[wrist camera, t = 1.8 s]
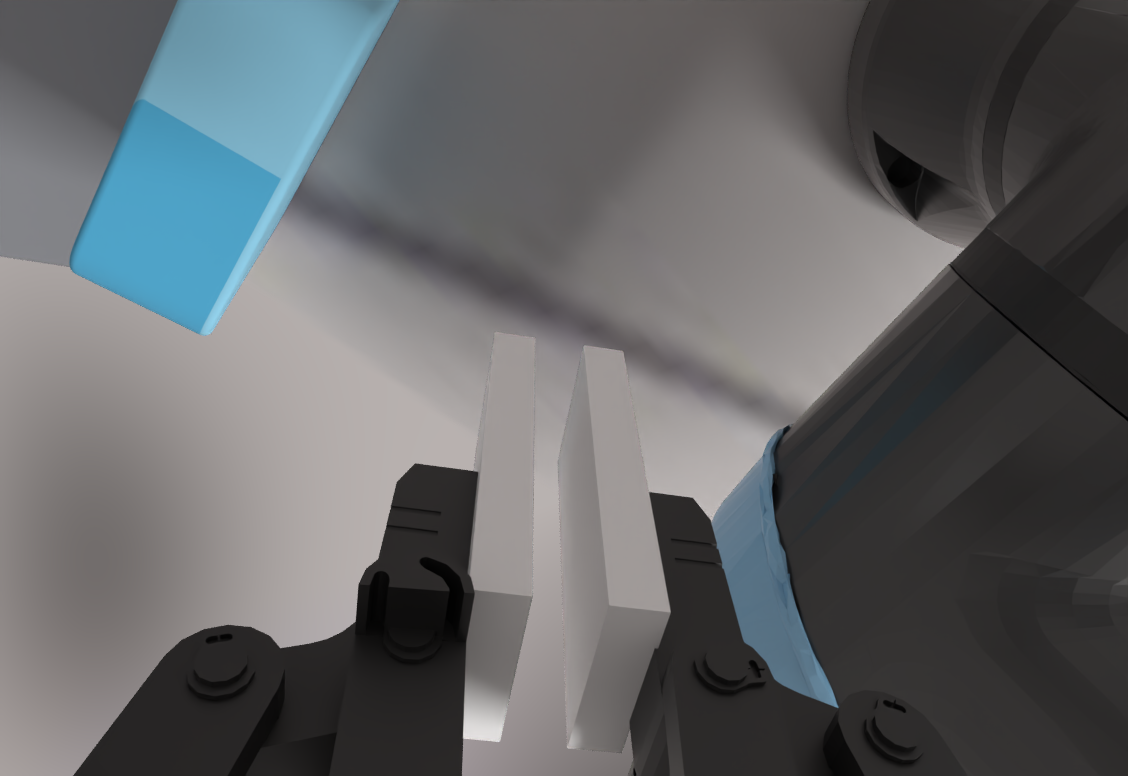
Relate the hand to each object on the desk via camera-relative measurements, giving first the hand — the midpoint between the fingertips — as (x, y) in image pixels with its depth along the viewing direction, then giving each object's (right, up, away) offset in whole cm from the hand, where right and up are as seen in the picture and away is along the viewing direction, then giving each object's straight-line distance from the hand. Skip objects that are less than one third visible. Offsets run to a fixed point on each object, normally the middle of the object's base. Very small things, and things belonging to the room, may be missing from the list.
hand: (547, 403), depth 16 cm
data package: (-11, +13, +18) cm, 25 cm away
